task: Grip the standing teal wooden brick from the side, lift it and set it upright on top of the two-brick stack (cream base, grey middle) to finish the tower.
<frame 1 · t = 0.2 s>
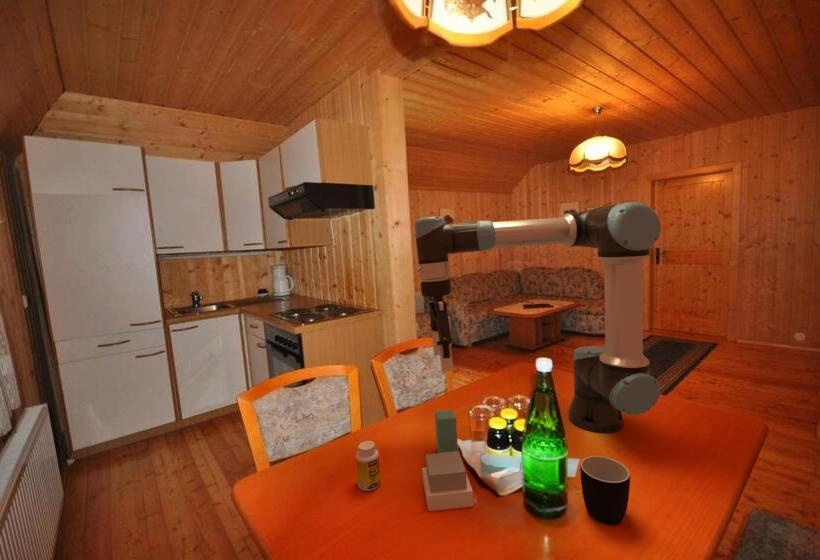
hand: (443, 362, 94), 27 cm above the table, tool pointing down, fingers open, 13 cm apart
base brick: (446, 495, 85), on the table
mug: (600, 509, 78), on the table
supplement bottle: (369, 485, 90), on the table
grey brick: (445, 478, 85), point 3 cm above the table
teal brick: (447, 452, 102), on the table
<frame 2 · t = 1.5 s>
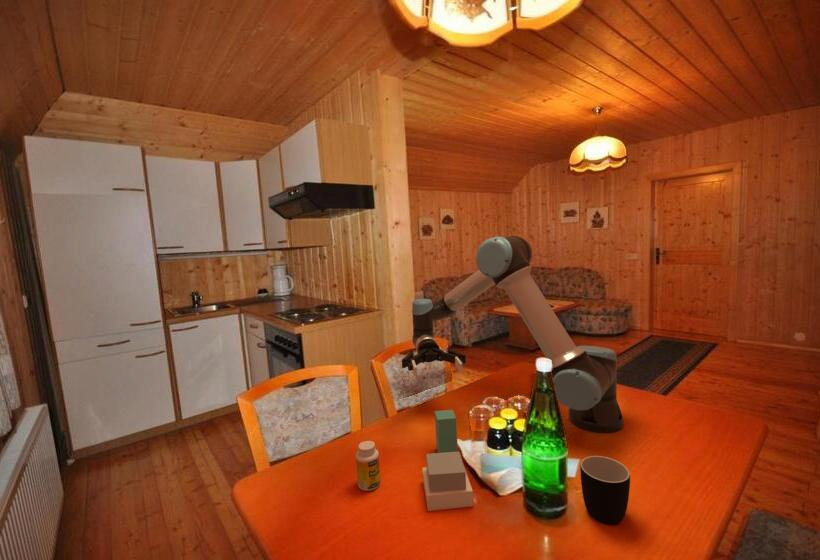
hand: (438, 370, 108), 20 cm above the table, tool horizontal, fingers open, 13 cm apart
nothing on the table moved.
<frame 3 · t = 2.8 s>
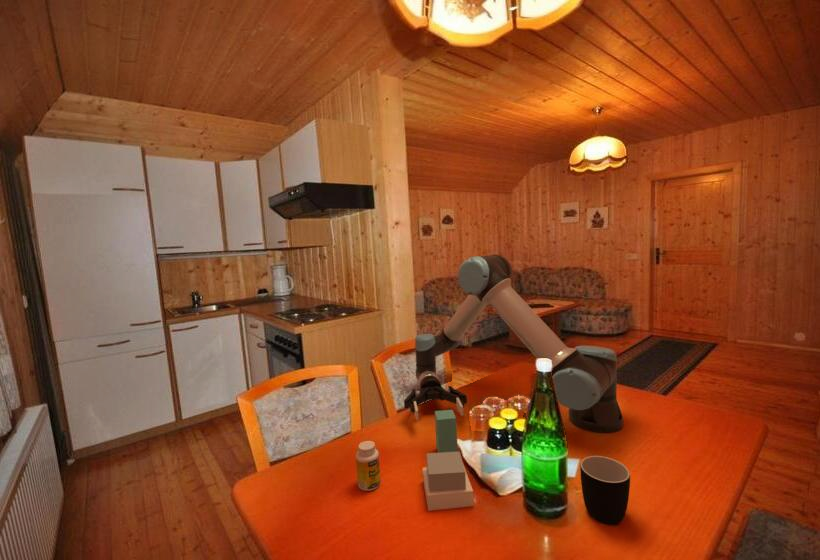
hand: (439, 413, 111), 7 cm above the table, tool horizontal, fingers open, 13 cm apart
nothing on the table moved.
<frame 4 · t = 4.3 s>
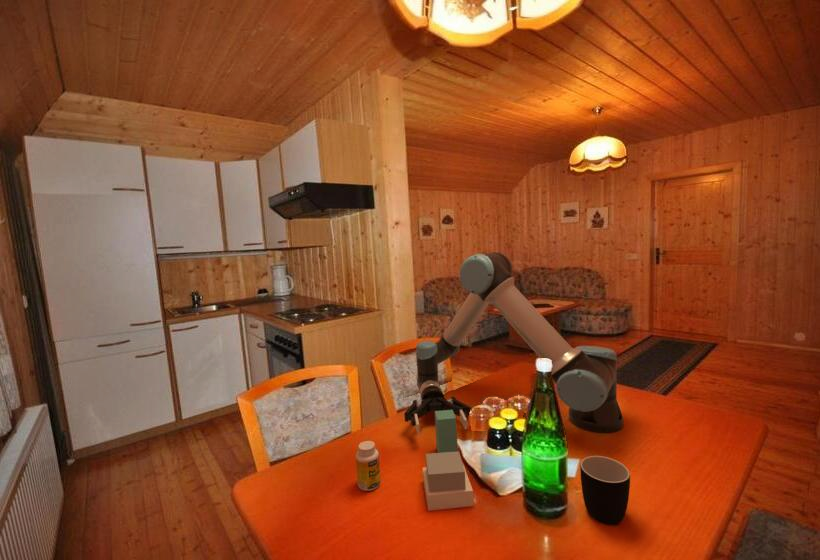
hand: (442, 426, 104), 6 cm above the table, tool horizontal, fingers open, 13 cm apart
base brick: (447, 494, 86), on the table, touching grey brick
grey brick: (445, 478, 85), point 4 cm above the table, touching base brick
everything else where it was.
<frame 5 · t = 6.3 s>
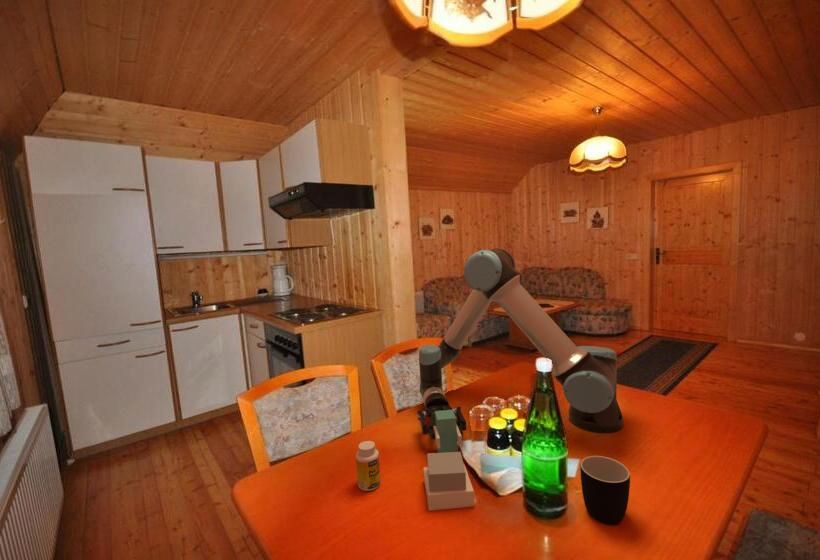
hand: (449, 442, 96), 6 cm above the table, tool horizontal, fingers closed on teal brick, 5 cm apart
teal brick: (447, 452, 102), on the table, touching gripper
everything else where it was.
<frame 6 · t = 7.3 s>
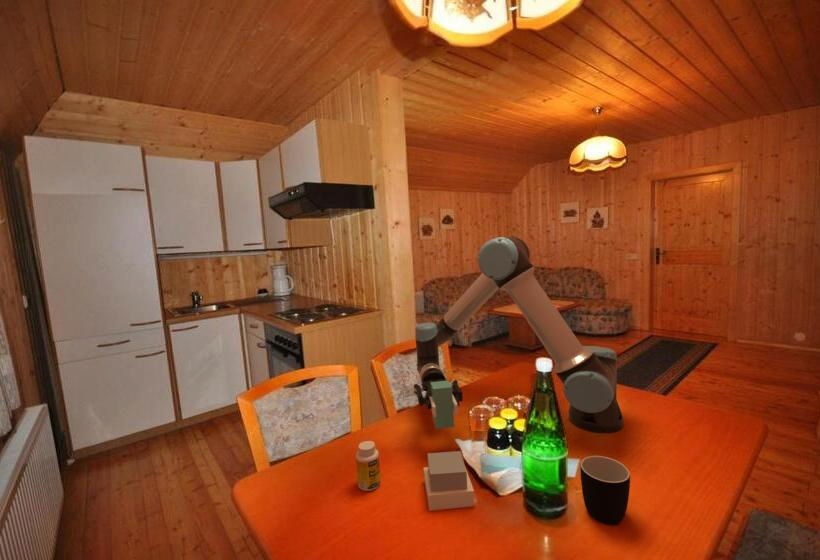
hand: (445, 410, 95), 14 cm above the table, tool horizontal, fingers closed on teal brick, 5 cm apart
base brick: (448, 494, 86), on the table
grey brick: (446, 478, 85), point 4 cm above the table
teal brick: (443, 423, 101), point 8 cm above the table, touching gripper
everything else where it was.
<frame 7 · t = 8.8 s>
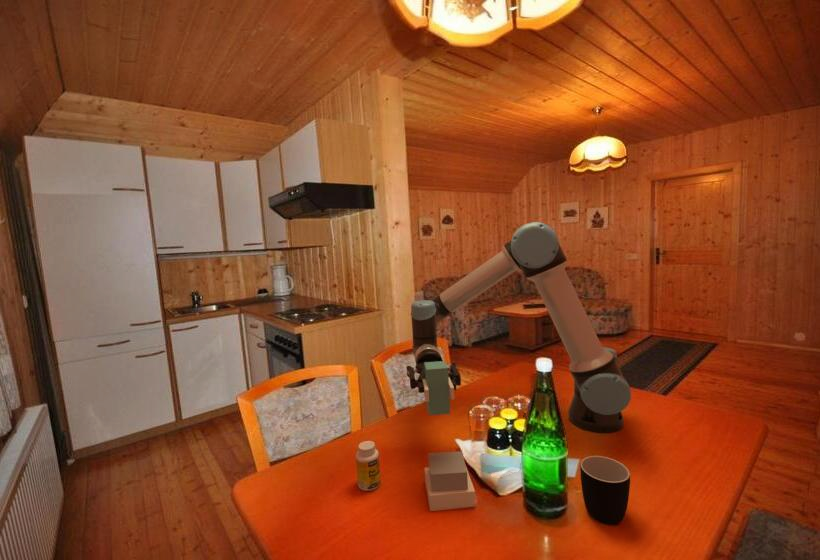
hand: (439, 394, 82), 24 cm above the table, tool horizontal, fingers closed on teal brick, 5 cm apart
teal brick: (438, 409, 88), point 18 cm above the table, touching gripper
everything else where it was.
when the fingers open (15 cm above the table, at t = 11.0 s): teal brick drops 2 cm, resting on grey brick.
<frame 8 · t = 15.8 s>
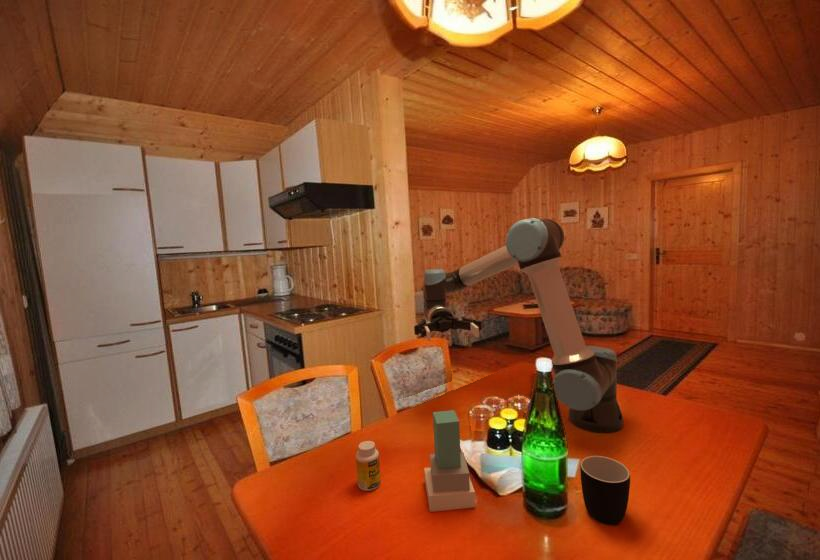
hand: (453, 334, 102), 32 cm above the table, tool horizontal, fingers open, 13 cm apart
base brick: (448, 495, 85), on the table, touching grey brick
grey brick: (449, 479, 85), point 4 cm above the table, touching base brick, teal brick
teal brick: (447, 461, 85), point 8 cm above the table, touching grey brick
everything else where it was.
at the end: teal brick 0.4 cm off-centre on the base brick, point 8.1 cm above the base brick's base; teal brick tilted 3°; the gripper is holding nothing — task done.
